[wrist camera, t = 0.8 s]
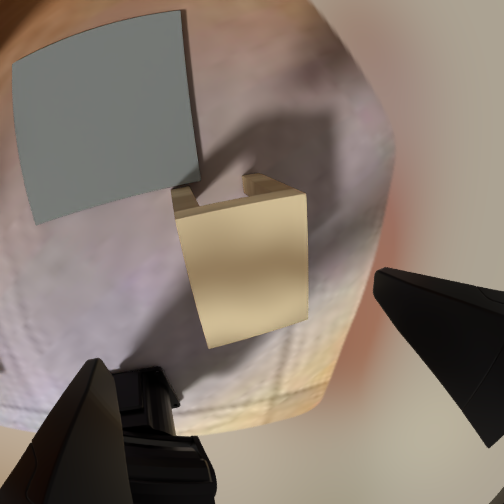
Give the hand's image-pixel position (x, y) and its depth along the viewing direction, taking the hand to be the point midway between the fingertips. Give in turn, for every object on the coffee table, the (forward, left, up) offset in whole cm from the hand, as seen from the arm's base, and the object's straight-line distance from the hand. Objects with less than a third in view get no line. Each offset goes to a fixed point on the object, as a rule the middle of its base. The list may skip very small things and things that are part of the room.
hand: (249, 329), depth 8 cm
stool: (-2, -2, -12) cm, 12 cm away
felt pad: (+8, +5, -12) cm, 16 cm away
